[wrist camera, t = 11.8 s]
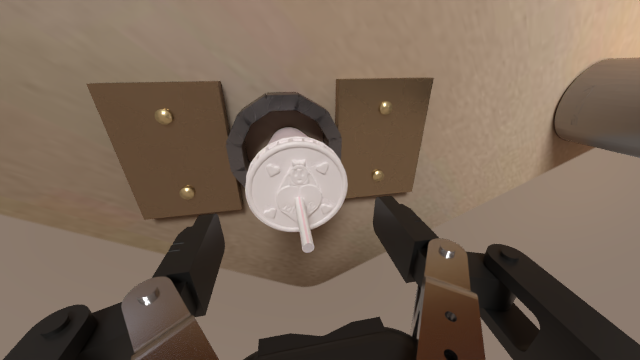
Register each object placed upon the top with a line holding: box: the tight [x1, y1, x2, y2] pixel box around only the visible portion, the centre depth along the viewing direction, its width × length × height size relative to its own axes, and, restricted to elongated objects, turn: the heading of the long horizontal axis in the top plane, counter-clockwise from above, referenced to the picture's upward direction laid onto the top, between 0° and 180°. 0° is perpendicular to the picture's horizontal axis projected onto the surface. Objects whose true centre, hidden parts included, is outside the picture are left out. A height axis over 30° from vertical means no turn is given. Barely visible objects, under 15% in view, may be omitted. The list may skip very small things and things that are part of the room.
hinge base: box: [87, 78, 433, 220], centre depth 21 cm, size 28×12×2 cm, turn 91°
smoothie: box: [245, 127, 348, 253], centre depth 16 cm, size 6×6×14 cm
